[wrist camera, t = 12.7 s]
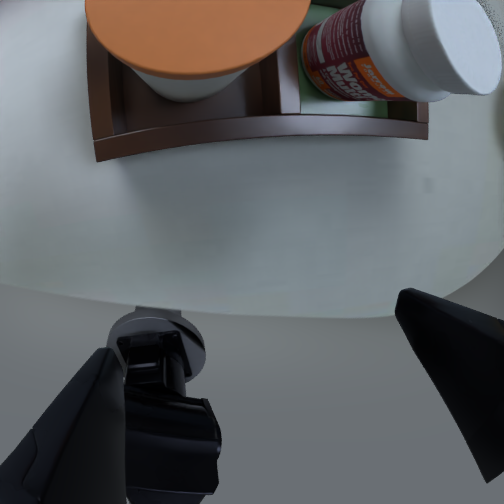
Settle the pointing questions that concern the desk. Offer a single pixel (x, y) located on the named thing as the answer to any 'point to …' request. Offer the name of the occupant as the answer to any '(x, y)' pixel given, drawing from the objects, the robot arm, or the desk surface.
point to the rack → (235, 104)
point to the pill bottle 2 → (403, 51)
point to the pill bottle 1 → (193, 39)
